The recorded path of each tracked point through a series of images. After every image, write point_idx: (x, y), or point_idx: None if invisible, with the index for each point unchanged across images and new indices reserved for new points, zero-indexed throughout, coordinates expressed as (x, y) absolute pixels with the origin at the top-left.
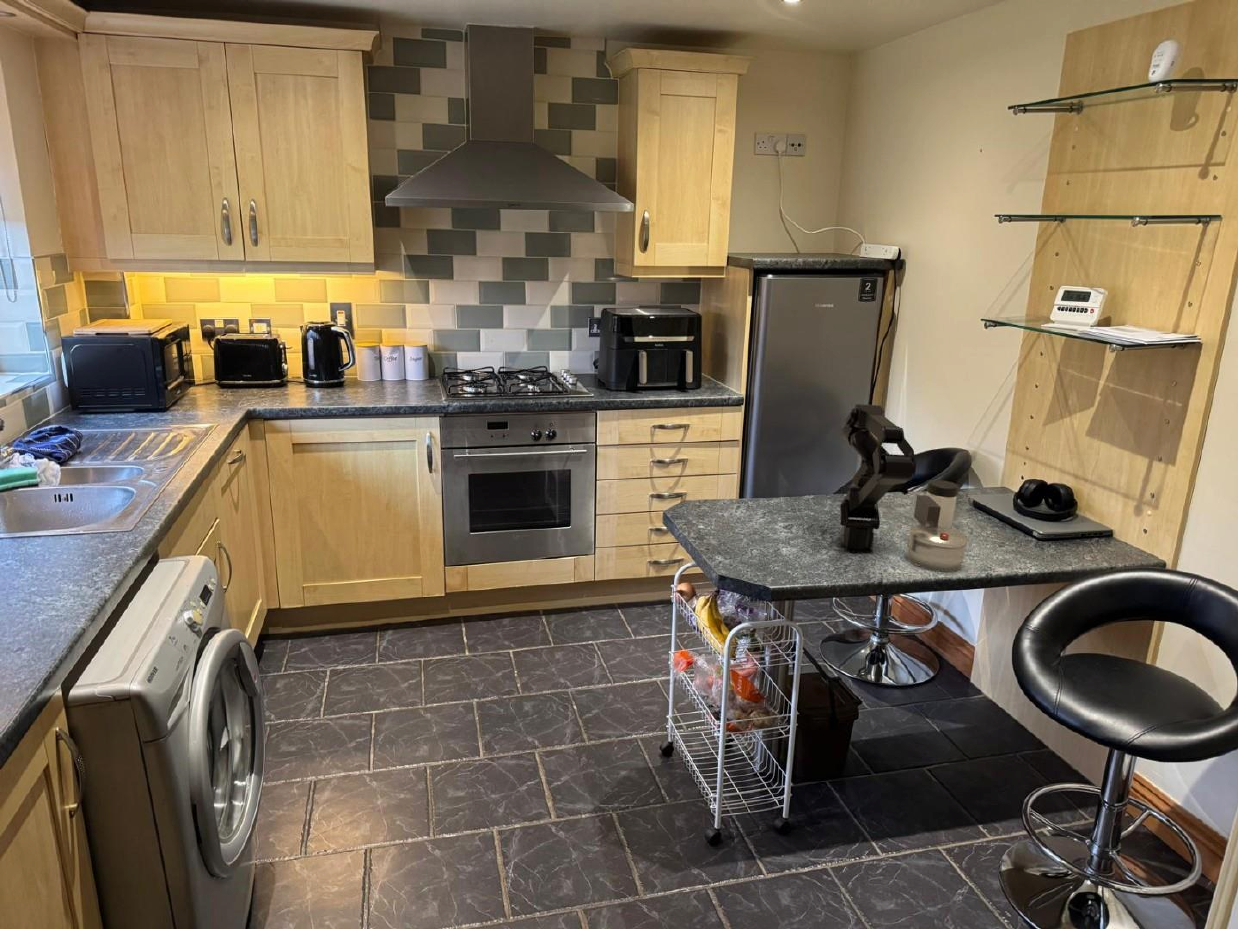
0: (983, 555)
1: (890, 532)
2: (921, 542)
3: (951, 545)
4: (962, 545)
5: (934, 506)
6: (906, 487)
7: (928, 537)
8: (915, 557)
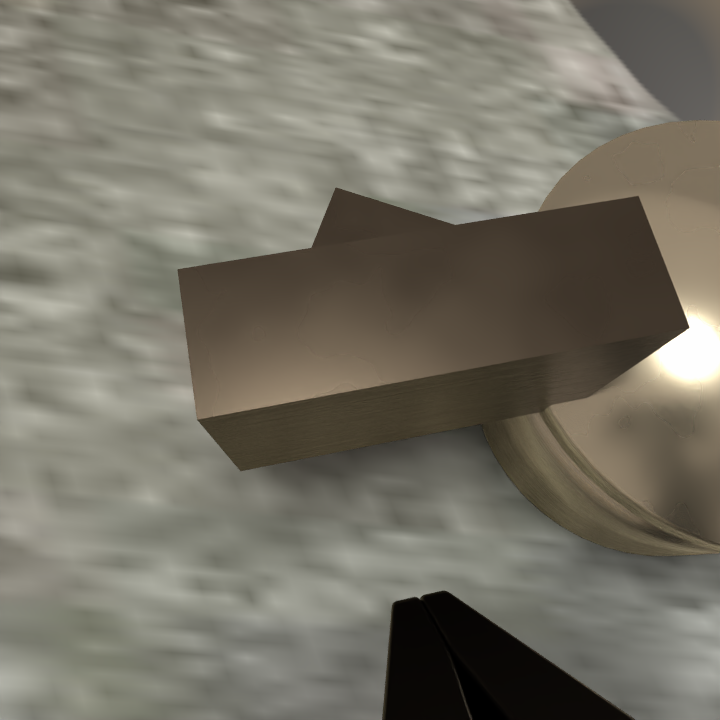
0: (394, 103)
1: (145, 640)
2: None
3: None
4: None
5: (639, 260)
6: (530, 658)
7: None
8: None
